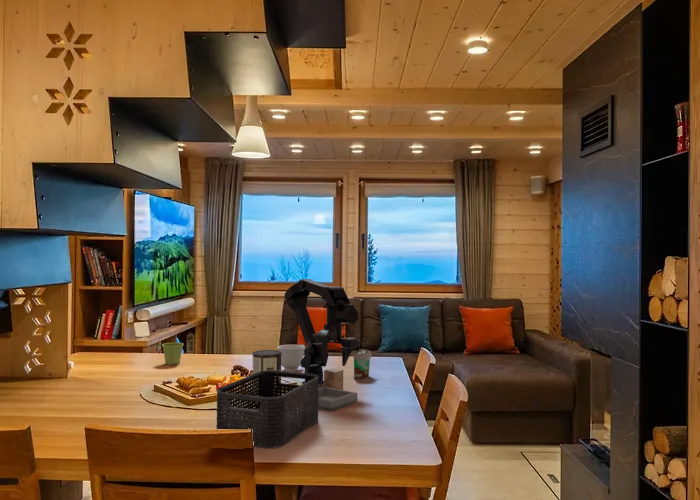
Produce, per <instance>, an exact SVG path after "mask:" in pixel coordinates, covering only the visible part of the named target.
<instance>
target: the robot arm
mask: <svg viewBox="0 0 700 500" xmlns="http://www.w3.org/2000/svg"><path fill="white" fill-rule="evenodd" d="M311 293H312V294H314V295H317V296H320V297H321V299H322V300H323V301H324V302H325V304H324V305H323V306H322V308H323V309H326V323H324V324H323V329H321V330H320V331H318V332H317V333H316V330H315V328H314V325H313V321H312V319H311V317H310V313H309V311H308V308H307V305H308V301H309V299H308V297H309V296H310V295H311ZM284 300H285V302H286V304H287V306H288V307H289V308H290V309H291V310H292V311H293V312H294V314H295V315H294V316H295V317H296V320H297V323H298V326H299V329H300V332H301V334H302V337H303V341H304V343H305V345H304V346H305V350H304V354H303V359H302V360H301V362H300V363H301V365H300V367H301V368H304V373H306V374H315V375H318V385H321V384H324V370H323V368H324V367H327V363H328V360H329V352H328V351H329V349H328V345H329V343H331V344H338V345H341V347H340V350H341V352H342V353H341V355H342V356H341V363H342V366H343V367H346V365H347V362H348V360H349V359H350V356H351V354H352V352H353V351H354V349H357V347H359V346H360V340H359V338H357V337H349V336H348V337H345V334H343V328H344V327H345V324H347V325H349V324H350V325H354V324H356V322H357V321H358V319H359V312H358V310H357V309H356V308H355V305H354V304H352V303H351V302H350V300H349V298H348V295H347V293H346V291H345V288H344V287H343V286H338V285H337V286H333V285H330V286H329V285H326V284H324V283H320V282H318V281H315V280H312V279H311V278H301V279H299V280H298V281H297V282H296V283H295V284H293V285H291V286H290V287H288V289H287V290H286V291H285V293H284ZM305 382H306V379H304V380H303V381H301V384H304V383H305Z"/></svg>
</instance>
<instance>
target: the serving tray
mask: <svg viewBox="0 0 700 500" xmlns="http://www.w3.org/2000/svg"><path fill="white" fill-rule="evenodd" d="M301 400H302V399H301ZM357 402H358V392H355V391H349V390H345V389H342V390H340V389H334V388H329V387H324V386H322V387H318V409H320V410H325V411H328V412H329V411H330V412H332V411H335V410H338V409H341V408H344V407H347V406H349V405H352V404H355V403H357Z"/></svg>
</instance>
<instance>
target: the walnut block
mask: <svg viewBox="0 0 700 500" xmlns="http://www.w3.org/2000/svg"><path fill="white" fill-rule="evenodd" d="M323 381H324V383H323V387H329V388H334V389H340V390H344V369H339V368H333V367H331V368H328V369H325V370H323Z"/></svg>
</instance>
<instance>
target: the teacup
mask: <svg viewBox="0 0 700 500" xmlns="http://www.w3.org/2000/svg"><path fill="white" fill-rule="evenodd" d="M276 348H277V351H281V352H282V354H281V367H283V369H284V370H283V371H284V372H297V371H298V370H299V369H298V368H299V367H301V363H300V362H301V360H302V359H303V357H304V355H305V354H304V350H305V345H304V344H290V343H289V344H280V345H278V346H277V347H276Z"/></svg>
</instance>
